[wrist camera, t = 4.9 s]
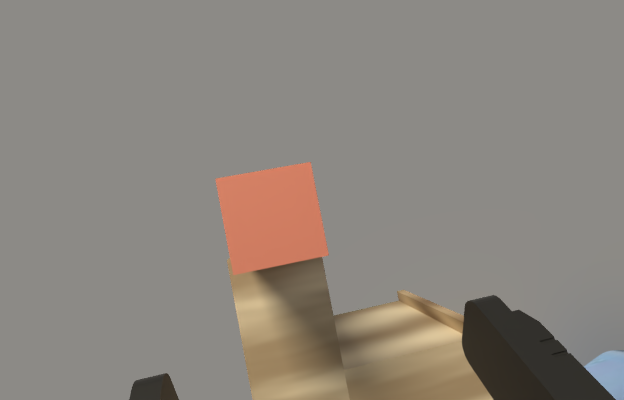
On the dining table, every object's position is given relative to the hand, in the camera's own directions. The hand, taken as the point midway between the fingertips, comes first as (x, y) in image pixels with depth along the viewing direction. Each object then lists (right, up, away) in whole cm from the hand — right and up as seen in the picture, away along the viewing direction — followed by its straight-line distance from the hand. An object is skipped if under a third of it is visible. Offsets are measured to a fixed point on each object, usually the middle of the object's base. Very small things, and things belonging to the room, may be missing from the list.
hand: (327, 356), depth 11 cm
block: (-3, +1, +14) cm, 14 cm away
